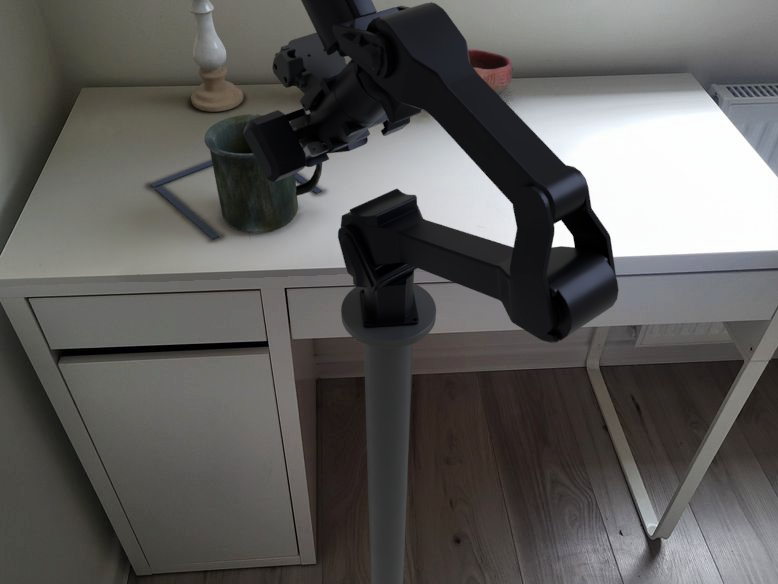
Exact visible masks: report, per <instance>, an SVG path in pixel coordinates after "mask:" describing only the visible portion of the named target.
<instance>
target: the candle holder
mask: <svg viewBox="0 0 778 584" xmlns="http://www.w3.org/2000/svg"><path fill="white" fill-rule="evenodd" d="M188 10H189V12H190V13H192V14H193V18H194V23H195V39H194V43H193V47H192V57H193V60H194V62H195V64H196V65H197V66H199V69H198V72H197V75H198V76H199V77H200V78H201V79H202V80H203V83H201V84H199V85H198V86H197V87H196V89H195V90H194V91H193V92H192V93H191V95H190V100H191V104H192V106H193V107H194V108H196V109H197V110H200V111H203V112H210V113H214V112H215V113H216V112H217V113H218V112H224V111H225V112H226V111H229V110H231V109H234V108H236V107H238V106H240V105H241V104H242V102H243V101H244V92H243V91H242V89H241V88H240V87H238V86H236V85H235V84H234V83H233V82H230V81H228V80H225V79H226V75H227V73H228V68H227V67H226V66H225V63H226V61H227V56H228V55H227V50H226V48H225V45H224V43H223V41H222V40H221V39H220V37H219V35H218V33H217V31H216V29H215V24H214V20H213V11H214V10H215V6H214V5H213V4H212V3H211V1H210V0H191V3H190V6H189V9H188Z"/></svg>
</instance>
